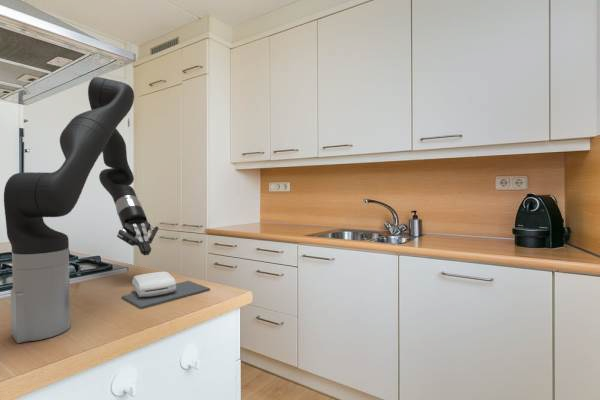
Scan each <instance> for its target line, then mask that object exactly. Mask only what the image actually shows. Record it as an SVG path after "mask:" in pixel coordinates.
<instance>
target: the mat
mask: <svg viewBox="0 0 600 400" xmlns="http://www.w3.org/2000/svg"><path fill="white" fill-rule="evenodd" d="M209 291H211V288H210V287H207V286H205V285H202V284H200V283H199V284H198V283H196V282H194V281H191V280H186V281H182V282H178V283H177V282H176V290H175V291H173V292H171V293H168V294H164V295H158V296H152V297H139V296H138V294H137V292H133V293H130V294H125V295H121V299H122V300H124V301H126V302H128V303H129V304H130V305H132V306H135V307H136V308H137V309H140V310H142V309H146V308H150V307H154V306H156V305H162V304H164V303H167V302H171V301H175V300H179V299H183V298H187V297H190V296H194V295H197V294H201V293H205V292H209Z"/></svg>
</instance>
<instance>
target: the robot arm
mask: <svg viewBox="0 0 600 400" xmlns="http://www.w3.org/2000/svg"><path fill="white" fill-rule="evenodd" d="M87 95H88V97H87V98H88V103H89V106H90V110H87V111H83V112H82V113H79V114H77V115H75V116H74V117H73V118H72V119H71V120H70V121H69V123H68V124H67V125H66V126H65V128H64V129H62V131H61V133H60V136H59V144H60V145H59V146H60V149H61V152H62V153H63V157H64V158H65V160H64V162H63V164H62V165H61V166H60V167H59V168H58V169H57V170H56V171H53V172H30V171H29V172H17V173H14V174H12V175H11V176H9V178H8V179H7V181H6V183H5V186H4V190H3V206H4V207H3V208H4V216H5V227H6V228H5V229H6V235H7V239H8V242H9V243H10V246H11V262H12V263H11V264H12V265H11V266H12V273H11V274H12V288H11V289H10V307H11V309H10V310H11V311H10V313H11V314H10V315H11V335H12V337H13V339H14V341H15V342H16V344H21V343H25V342H33V341H41V340H45V339H46V340H47V339H49V338H52V337H55V336H58V335H61V334H63V333H64V332H66V331H68V330H69V329H70V328H71V294H70V291H71V290H70V262H69V261H70V253H69V252H70V251H69V250H70V248H69V247H70V245H69V241H70V240H69V236H68V235H67V234H65V233H64V232H60V231H57V230H55V229H53V228H51V227H50V226H48V225H47V224H46V223H45V221H44V218H60V217H64V216H67V215H68V214H71V212H72V210H73V209H74V208H75V206H76V204H77V203H78V201H79V199H80V197H81V195H82V192H83V189H84V187H85V184H86V182H87V179H88V177H89V176H90V173H91V171H92V169H93V168H94V166H95V165H96V162H97V161H98V159H99V157H100V156H101V154H102V159H103V163H104V165H105V166H106V167H108V168H104V169H102V170H101V171H100V173H99V175H98V178H99V182H100V183H101V185H102V187H103V188H104V189H105V190H106V191H107V192H108V193H109V196H111V197H112V200H113V202H114V204H115V210H116V214H117V216H118V218H119V221H120V223H121V226H122V228H121V229H119V230H118V233H117V235H116V237H117V238H118V239H120V240H122V241H123V242H125V243H127V244H128V245H130V246H132V247H135V246H137V247H138V250H139V251H140V254H141V255H143V256H149V255H150V253H151V251H152V247H151V244H152V242H153V241H154V239H155V237H156V234H157V233H158V230H159V227H158V226H155V227H154V226H151V223H149V222H148V218H147V215H146V213H145V211H144V209H143V206H142V205H141V202H140V201H139V199H138V196H137V193H136V191H135V190H134V187H132V186H131V185H132V184H133V183H134V180H135V178H134V173H133V171H132V170H131V167H130V165H129V162H128V156H127V144H126V142H125V139H124V137H123V136H122V134H121V133H120V132H119V130H118V129H117V127H118V126H119V124H120V123H121V122H123V120H124V119H125V117H126V116H127V115H129V113H130V111H131V110H132V108H133V104H134V100H135V92H134V89H133V87H132V86H130V84H129V83H128V84H127V83H125V82H123V81H117V80H115V79H109V78H106V77H105V78H104V77H99V76H94V77H92V79H91V80H90V82H89V84H88V88H87ZM148 232H149V233H150V236H149V237H148Z"/></svg>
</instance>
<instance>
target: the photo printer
mask: <svg viewBox="0 0 600 400" xmlns="http://www.w3.org/2000/svg"><path fill="white" fill-rule="evenodd" d="M131 283H132V286H133V288H134V290H135V293H137V294H138V296H139V297H152V296H158V295H164V294H168V293H171V292H173V291H175V290H176V283H177V282H176V279H175V278H174V276H172V275H171V273H169V272H168V271H156V272H150V273H144V274H138V275H134V276H133V278H132V281H131Z"/></svg>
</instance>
